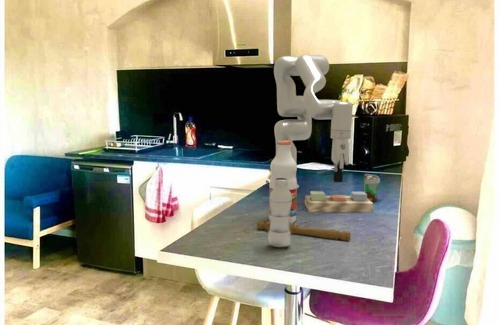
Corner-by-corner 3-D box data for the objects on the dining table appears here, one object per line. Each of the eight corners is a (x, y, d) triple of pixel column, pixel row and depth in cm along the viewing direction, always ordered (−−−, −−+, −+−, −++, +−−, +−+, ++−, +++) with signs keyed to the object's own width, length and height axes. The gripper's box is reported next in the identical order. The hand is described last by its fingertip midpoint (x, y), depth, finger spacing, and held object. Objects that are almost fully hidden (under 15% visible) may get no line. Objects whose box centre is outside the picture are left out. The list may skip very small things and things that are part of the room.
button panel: (309, 212, 170) (309, 202, 170) (304, 204, 182) (305, 195, 181) (372, 212, 170) (373, 203, 170) (364, 204, 182) (364, 196, 182)
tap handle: (349, 233, 136) (255, 221, 147) (348, 243, 137) (255, 230, 148) (350, 230, 139) (259, 219, 150) (350, 240, 140) (259, 228, 151)
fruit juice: (272, 216, 164) (274, 139, 160) (298, 218, 161) (300, 140, 157) (265, 223, 155) (267, 141, 151) (292, 226, 152) (295, 143, 148)
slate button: (353, 203, 173) (354, 194, 173) (350, 200, 178) (351, 191, 178) (366, 203, 174) (367, 194, 173) (363, 200, 178) (363, 191, 178)
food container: (380, 204, 183) (381, 179, 182) (364, 203, 185) (365, 179, 183) (378, 197, 195) (379, 174, 194) (363, 196, 197) (364, 173, 195)
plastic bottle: (266, 242, 135) (267, 176, 132) (289, 242, 136) (290, 176, 133) (269, 250, 129) (270, 181, 126) (292, 249, 130) (294, 181, 126)
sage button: (311, 203, 173) (312, 194, 173) (310, 199, 178) (310, 191, 178) (324, 203, 173) (325, 194, 173) (322, 200, 178) (323, 191, 178)
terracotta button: (332, 206, 174) (333, 197, 173) (330, 203, 178) (330, 194, 178) (345, 206, 174) (346, 198, 173) (342, 203, 179) (343, 195, 178)
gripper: (355, 137, 165) (351, 186, 168) (346, 132, 179) (343, 177, 183) (334, 136, 164) (331, 186, 168) (327, 131, 179) (324, 177, 183)
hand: (337, 181), depth 175 cm, fingers closed
